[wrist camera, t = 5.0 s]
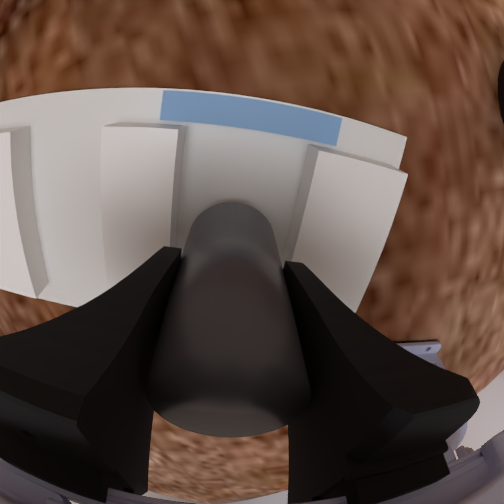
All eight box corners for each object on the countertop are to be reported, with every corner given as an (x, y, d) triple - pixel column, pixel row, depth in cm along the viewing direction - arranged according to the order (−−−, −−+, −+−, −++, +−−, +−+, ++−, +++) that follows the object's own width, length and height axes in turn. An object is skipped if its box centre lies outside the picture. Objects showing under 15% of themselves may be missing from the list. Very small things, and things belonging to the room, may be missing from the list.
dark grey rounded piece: (282, 208, 12) (335, 358, 5) (244, 370, 16) (250, 488, 10) (191, 196, 11) (135, 342, 5) (183, 364, 16) (170, 482, 9)
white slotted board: (400, 135, 12) (426, 143, 10) (332, 330, 17) (341, 356, 15) (-14, 105, 9) (-40, 112, 7) (10, 284, 15) (-6, 303, 13)
